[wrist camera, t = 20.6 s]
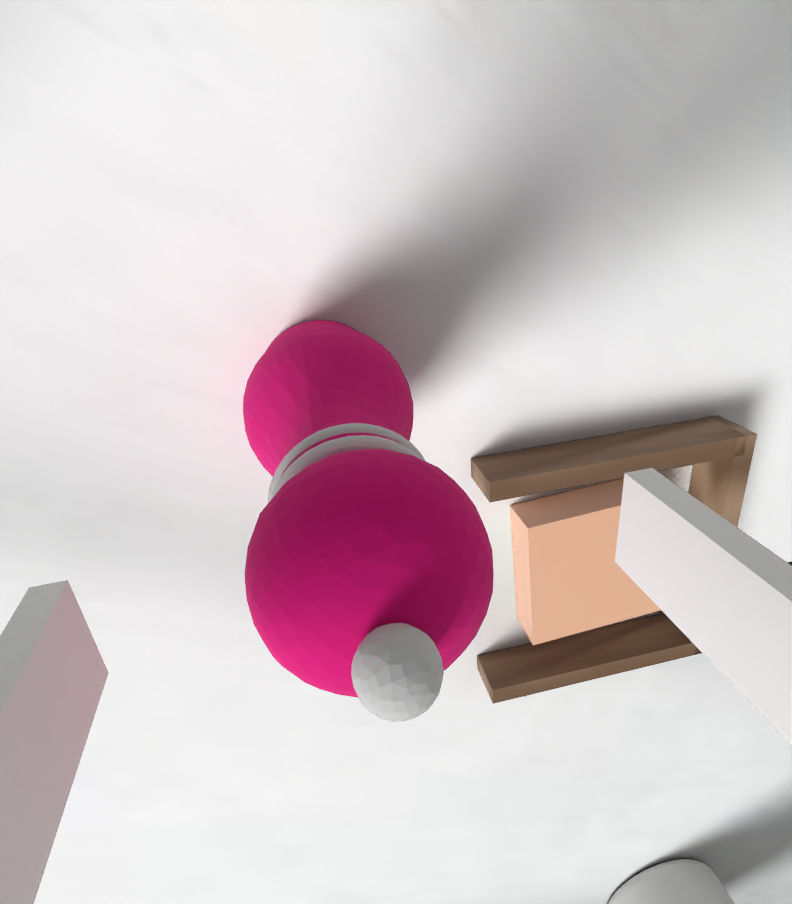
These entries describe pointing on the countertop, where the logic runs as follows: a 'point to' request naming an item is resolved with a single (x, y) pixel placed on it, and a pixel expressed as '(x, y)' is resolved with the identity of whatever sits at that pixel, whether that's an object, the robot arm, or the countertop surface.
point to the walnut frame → (595, 460)
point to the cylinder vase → (673, 885)
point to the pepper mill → (357, 527)
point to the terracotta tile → (572, 564)
